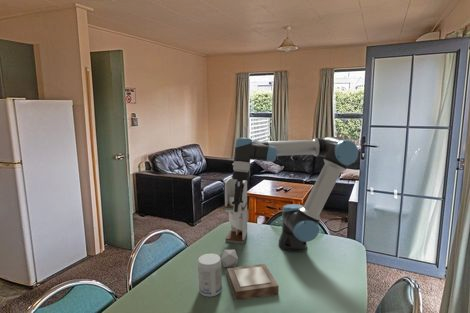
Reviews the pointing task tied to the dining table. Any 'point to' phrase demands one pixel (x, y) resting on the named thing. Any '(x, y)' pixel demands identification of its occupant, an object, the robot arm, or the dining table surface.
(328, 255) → the dining table surface
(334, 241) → the dining table surface
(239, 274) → the walnut platform
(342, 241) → the dining table surface
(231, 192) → the display case
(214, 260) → the supplement tub
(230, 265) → the die
